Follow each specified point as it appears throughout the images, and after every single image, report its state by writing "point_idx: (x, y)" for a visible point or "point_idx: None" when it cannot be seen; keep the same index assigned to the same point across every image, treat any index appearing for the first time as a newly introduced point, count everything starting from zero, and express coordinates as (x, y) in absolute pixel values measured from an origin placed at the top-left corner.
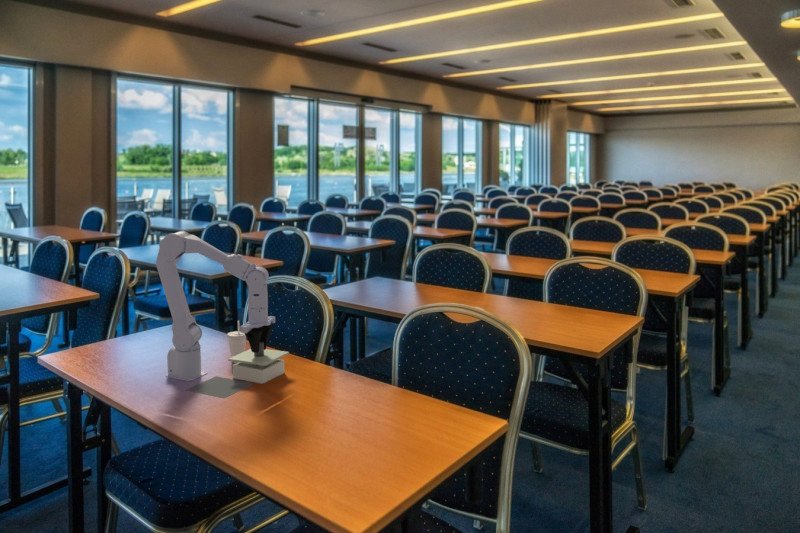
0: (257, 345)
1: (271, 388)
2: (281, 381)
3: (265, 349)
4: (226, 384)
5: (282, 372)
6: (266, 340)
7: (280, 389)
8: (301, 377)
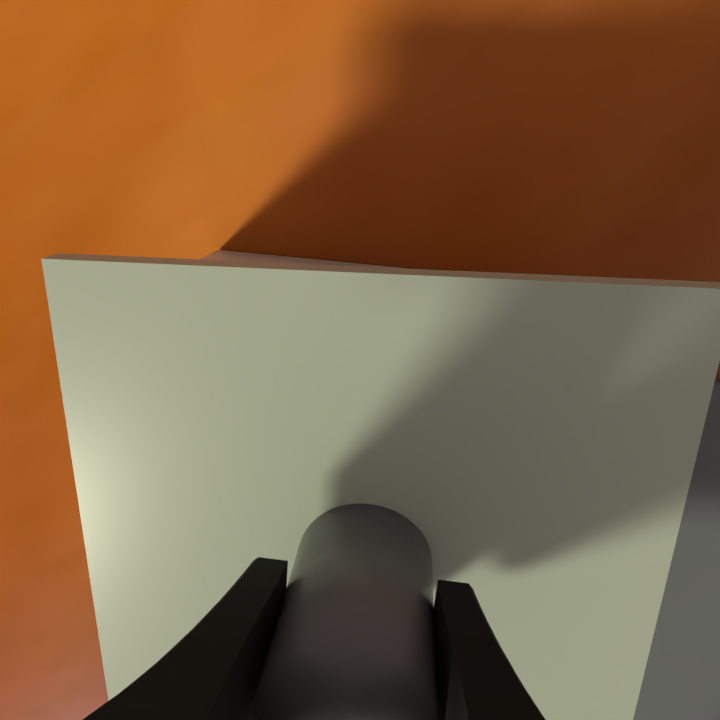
0: (511, 671)
1: (647, 154)
2: (417, 167)
3: (112, 600)
4: (691, 571)
5: (245, 257)
6: (229, 652)
7: (652, 39)
8: (220, 20)
